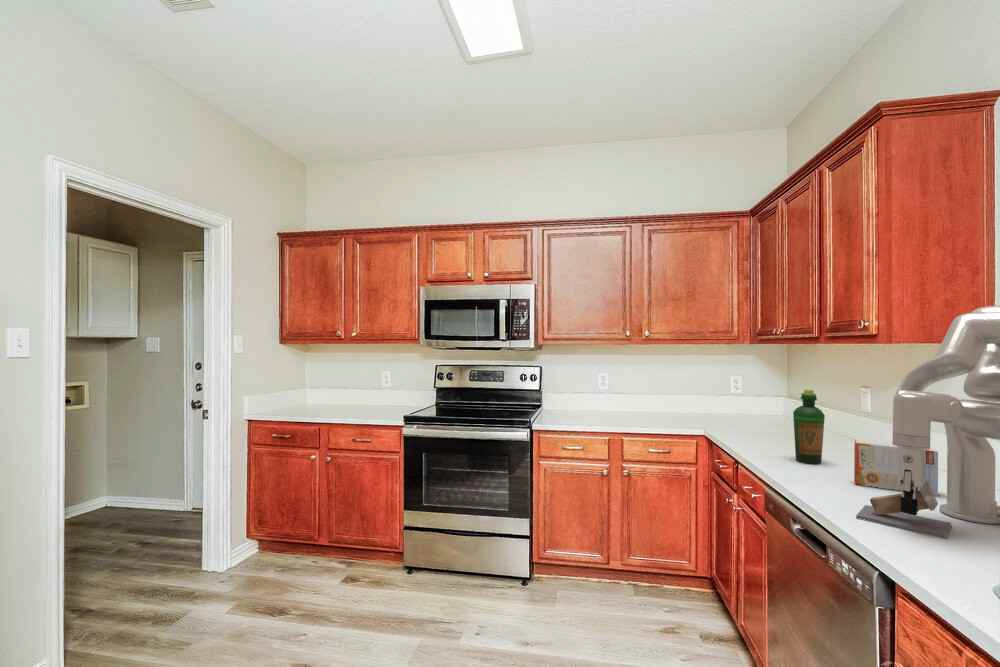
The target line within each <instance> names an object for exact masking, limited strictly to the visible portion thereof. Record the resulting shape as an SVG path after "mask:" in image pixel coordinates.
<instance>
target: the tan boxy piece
mask: <svg viewBox="0 0 1000 667" xmlns="http://www.w3.org/2000/svg"><path fill="white" fill-rule="evenodd" d="M919 490H920V491H916V499H917V510H919V511H922V510H923V511H924V510H929V511H931V512H932V511H935V509H936V508H937V507H938V505H939V502H938V500H937V499H936V496H934V494H933V492H932V490H931V488H930V486H929V484H928V482H927V480H926V481H925V484H924V486H923V487H922V488H921V489H919ZM901 496H902V493H897V494H896V493H895V494H889V495H888V494H887V495H882V496H881V495H880V496H873V497H871V498H870V499H869V502H870V504H871V506H873V508H874V511H875V513H876V515H883V514H891V513H899V512H901ZM901 513H902V512H901Z"/></svg>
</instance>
